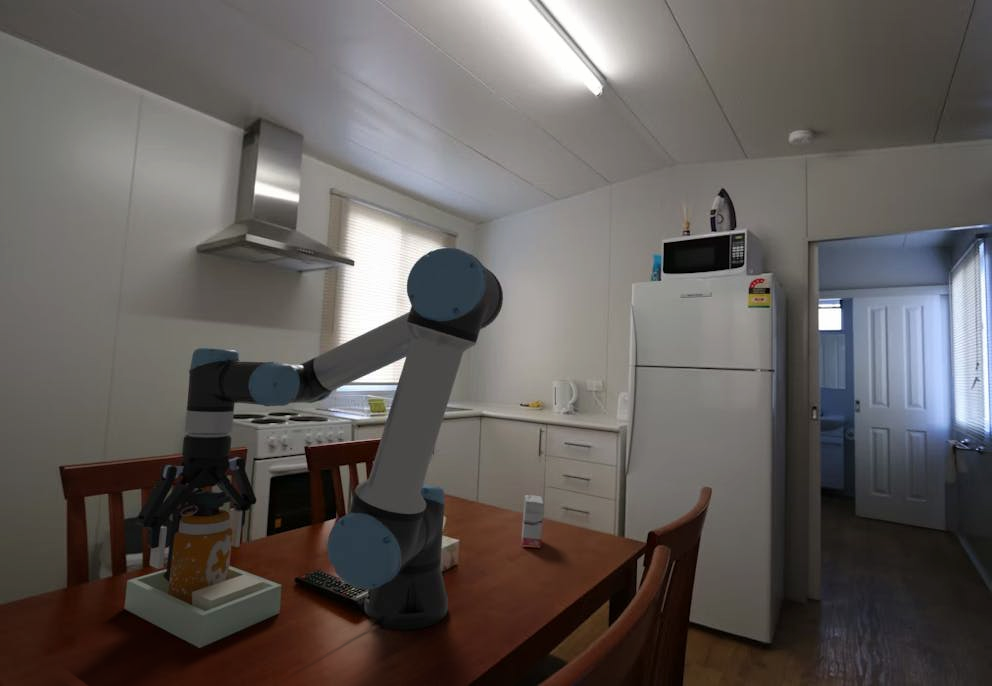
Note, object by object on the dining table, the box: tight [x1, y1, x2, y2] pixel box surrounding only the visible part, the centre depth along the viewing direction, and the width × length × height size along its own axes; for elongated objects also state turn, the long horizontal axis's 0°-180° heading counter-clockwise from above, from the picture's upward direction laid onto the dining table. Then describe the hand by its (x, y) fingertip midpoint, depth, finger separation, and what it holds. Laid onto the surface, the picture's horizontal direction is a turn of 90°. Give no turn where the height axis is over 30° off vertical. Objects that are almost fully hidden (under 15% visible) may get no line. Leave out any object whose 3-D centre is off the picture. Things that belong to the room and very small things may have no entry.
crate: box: [123, 565, 282, 649], centre depth 88 cm, size 22×14×6 cm, turn 61°
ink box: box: [521, 494, 545, 547], centre depth 136 cm, size 9×5×12 cm, turn 179°
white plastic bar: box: [192, 575, 263, 611], centre depth 85 cm, size 5×9×6 cm, turn 151°
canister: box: [163, 488, 233, 605], centre depth 90 cm, size 9×11×20 cm
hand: (197, 555), depth 90 cm, fingers open, 13 cm apart
